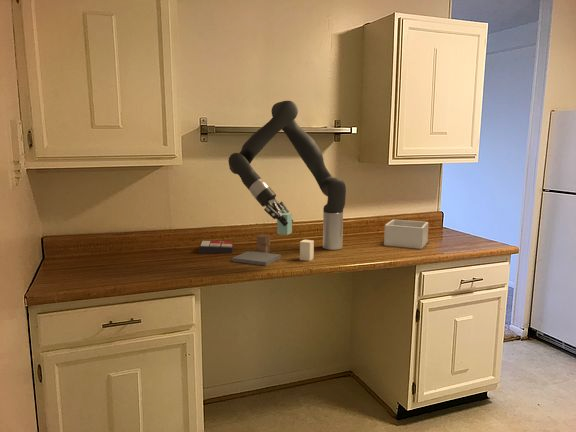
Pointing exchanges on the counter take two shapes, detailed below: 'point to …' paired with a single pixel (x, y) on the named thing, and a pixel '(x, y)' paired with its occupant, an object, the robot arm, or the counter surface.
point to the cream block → (306, 250)
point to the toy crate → (406, 234)
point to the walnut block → (263, 243)
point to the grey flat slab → (256, 258)
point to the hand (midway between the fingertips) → (288, 223)
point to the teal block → (288, 227)
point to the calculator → (216, 247)
